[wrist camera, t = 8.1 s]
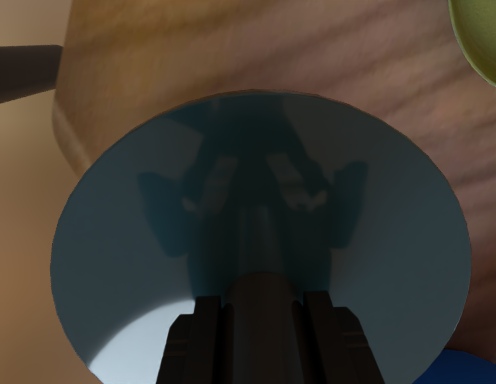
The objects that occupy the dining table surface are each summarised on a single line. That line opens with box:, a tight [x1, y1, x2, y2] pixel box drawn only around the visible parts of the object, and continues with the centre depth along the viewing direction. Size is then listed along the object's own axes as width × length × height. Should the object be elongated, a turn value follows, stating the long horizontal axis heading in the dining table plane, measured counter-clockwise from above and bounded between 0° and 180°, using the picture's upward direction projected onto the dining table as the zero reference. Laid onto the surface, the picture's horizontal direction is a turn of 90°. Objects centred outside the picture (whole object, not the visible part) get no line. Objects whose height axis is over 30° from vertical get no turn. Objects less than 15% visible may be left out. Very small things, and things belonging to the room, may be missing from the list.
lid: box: [50, 89, 471, 384], centre depth 10 cm, size 14×14×6 cm
